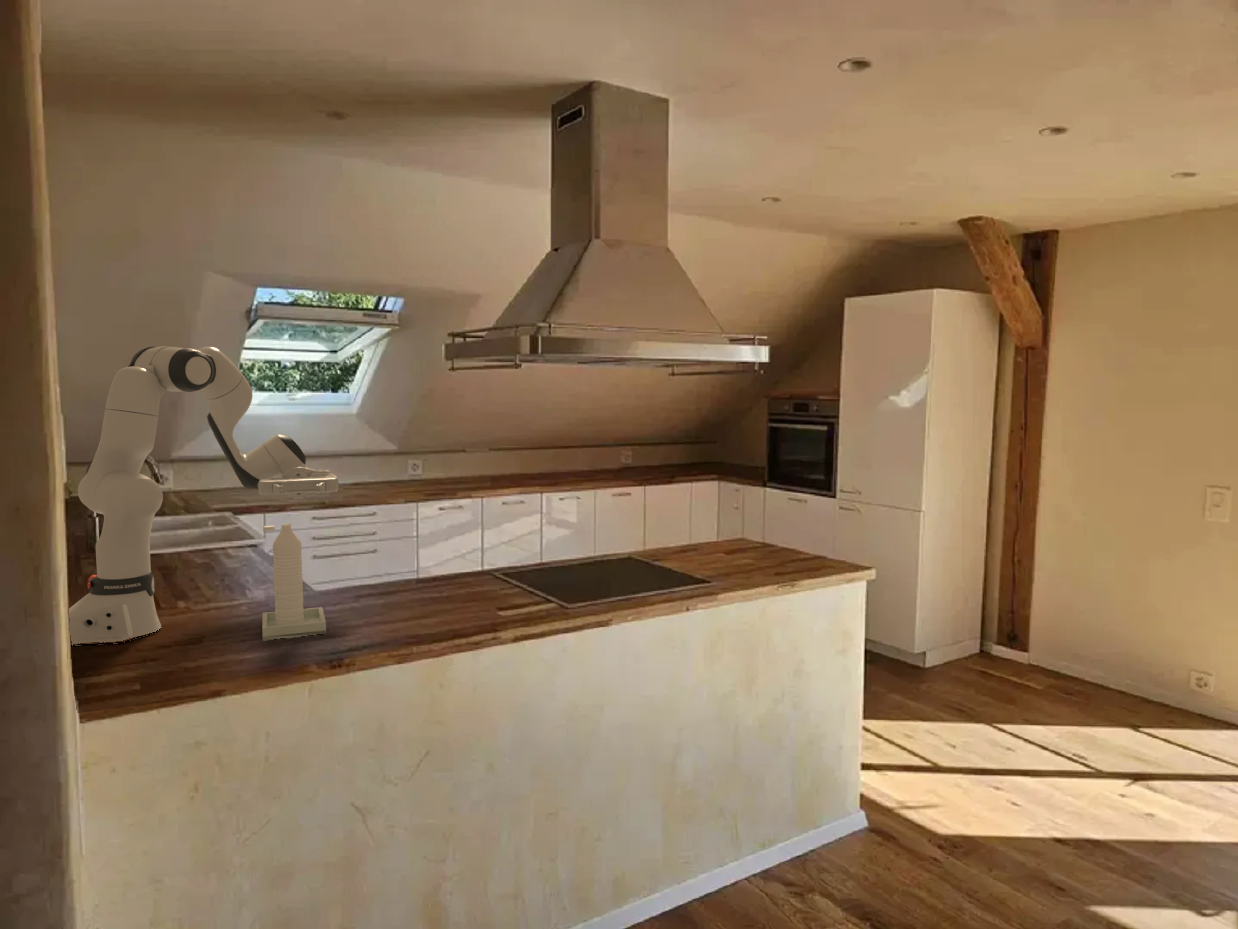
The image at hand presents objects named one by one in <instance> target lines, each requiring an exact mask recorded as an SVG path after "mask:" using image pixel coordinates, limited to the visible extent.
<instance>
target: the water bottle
mask: <svg viewBox="0 0 1238 929" xmlns="http://www.w3.org/2000/svg"><path fill="white" fill-rule="evenodd" d="M275 528H276V527H275V525H271V524H270V525H263V531H264V532H272V531H275V530H276V529H275ZM272 554H273V558H272V561H273V584H274V586H273V587H274V589H273V590H274V608H275V609H274V612H275V615H276V617H275V622H276V626H280V625H290V624H300V623H304V614H303V612H304V609H305V608H304V596H303V595H304V592H303V590H304V584H303V579H304V578H303V567H302V565H303V561H302V560H303V558H302V554H303V553H302V542H301V540H300V538H299V537H298V535H297V534H296V533H295V532H294V530H293V526H292V524H291V523H282V524H281V526H280V532H279V533H278V535H277V536H276V538H275V539H274V541H273V543H272Z"/></svg>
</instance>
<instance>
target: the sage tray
mask: <svg viewBox="0 0 1238 929" xmlns="http://www.w3.org/2000/svg"><path fill="white" fill-rule="evenodd" d="M303 614H304V623H300V624H290V625H280V626H276V622H275V617H276V615H275V611H268V612H266V611H265V612H262V620H261V621H262V622H261V623H262V625H261V626H262V628H261V629H262V641H264V642H267V641H274V639H277V640H281V639H280V638H286V639H295V638H302V637H301V636H305V637H308V636H307V635H314V636H316V635H315V634H322V633H324V635H326V634H327V622H326V618H325V612H324V609H323V606H319V607H309V608H304V612H303ZM325 633H326V634H325ZM294 637H295V638H294Z"/></svg>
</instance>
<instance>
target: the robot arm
mask: <svg viewBox="0 0 1238 929" xmlns="http://www.w3.org/2000/svg"><path fill="white" fill-rule="evenodd" d="M197 391H199V392H200V393H201V394H202V395H203V397H204V398H205V399H206V401H207V403H208V406H209V412H208V413H207V416H206V418H207V422H208V425H209V427H210V429H211V431H212V433H213V435H214V438H215V439H216V441H217V443H218V446H219V447H220V449H221V450H222V452H223V454H224V455H225V457H226V459H227V461H228V463H229V464H230V466H231V469H232V470H231V471H232V473H233V475H234V479H236V482H237V483H238V484H239V485H240V486H241V487H243V488H244V489H245V490H250V491H251V490H253V491H257V490H258V495H263V496H266V495H286V496H288V497H289V498H291V499H295V500H302V499H306V498H310V497H312V496H317V495H326V494H330V493H333V492H335V493H336V492H338V491H339V486H340V485H339V484H340V483H339V478H338V476H337V475H336V474H333V473H332V472H331V470H329V469H314V468H310V467H308V466H307V464H306V461H307V457H306V455H305V453H304V452H303V450H302V449H301V446H299V445H298V444H297V443H296V442H295V440H294V439H292V438H291V437H290V436H289V435H285V434H280V433H279V434H278V433H277V434H275V435H273V436H272V437H270V438H268V439H267V440H265V441H264V442H262V443H261V444H260V445H258V446H257V447H255V448H253V449H252V450H250V451H249V452H247V453H242V452H241V450H240V448H239V446H238V444H237V443H236V440H235V439H234V436H233V435H234V434H233V433H234V430H235V427H236V426H237V424H238V423H239V422H240V421H241V419H242V418H243V417H244V416H245V414H246V413H247V412H248V410H249V409H250V406H251V403H252V401H253V389H252V387H251V385H250V383H249V381H248V380H247V378H246V377H245V375H243V373H242V372H241V370H240V369H239V368H238V367H237V366H236V364H235V363H234V362H233V361H231V359H230V358H229V357H228V356H227V355H226V354H224V353H223V352H222V351H221V350H220V349H218V348H217V347H213V346H203V347H200V348H198V349H195V348H190V347H186V348H184V347H178V346H177V347H176V346H172V345H166V346H163V345H162V346H148V347H145V348H142V349H140V350H138V351H137V352H136V353H135V354H134V355H133V357H132V358H131V360H130V363H129V364H128V366H126V367H122V368H120V369H119V370H118V371H117V372H116V373H115V374H114V376H113V380H112V382H111V384H110V388H109V391H108V394H107V398H106V404H105V407H104V408H105V409H104V415H103V421H102V427H101V432H100V433H101V434H100V440H99V443H98V447H97V448H96V451H95V454H94V457H93V458H92V462H91V464H90V467H89V469H88V471H87V473H86V475H85V476H84V477H83V478H82V479H81V480H80V482H79V483H78V487H77V496H78V498H79V500H80V502H81V503H82V504H83V505H84V506H86V507H87V508H88V509H89V510H90V511H92V512H93V513H97V514H99V515H103V524H102V527H101V528H102V530H101V534H100V537H98V538H99V539H97V541H96V543H95V558H96V560H95V561H96V574H92V575H91V576H89V577H88V579H87V591H88V593H87V594H86V595H84V596H83V597H82V598H81V599H79V600H78V601H77V602H76V603H74V604H73V605H72V606H70V607H69V608H68V609H69V618H70V635H71V641H72V646H73V644H78V643H79V644H80V643H90V642H91V643H92V642H100V643H102V642H104V643H105V642H116V641H123V640H126V639H129V638H133V637H137V636H141V635H145V634H149V633H152V632H155V633H156V631H157V630H158V631H160V630H161V629H162V627H161V626H162V624H161V622H160V619H159V616H158V613H157V609H156V604H155V601H154V594H155V578H154V572H153V570H151V548H150V544H151V533H152V529H153V524H154V519H155V515H156V513H157V512H158V511H159V510H160V508H161V506H162V504H163V500H164V492H163V490H162V487H161V486H160V485H159V484H158V482H157V481H155V480H153V479H152V478H150V477H148V476H147V475H145V474H143V473H140V472H141V469H142V467H143V465H144V463H145V460H146V458H147V457H148V455H149V454H151V453H152V451H153V449H154V447H155V443H156V442H155V440H156V434H157V426H158V422H159V413H160V405H161V404H160V402H161V399H162V397H163V396H164V394H166V392H171V393H179V392H180V393H184V392H185V393H194V392H197ZM278 476H280V477H278ZM160 628H161V629H160ZM159 629H160V630H159ZM158 631H157V632H158ZM152 634H153V633H152ZM73 647H74V646H73Z"/></svg>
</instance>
